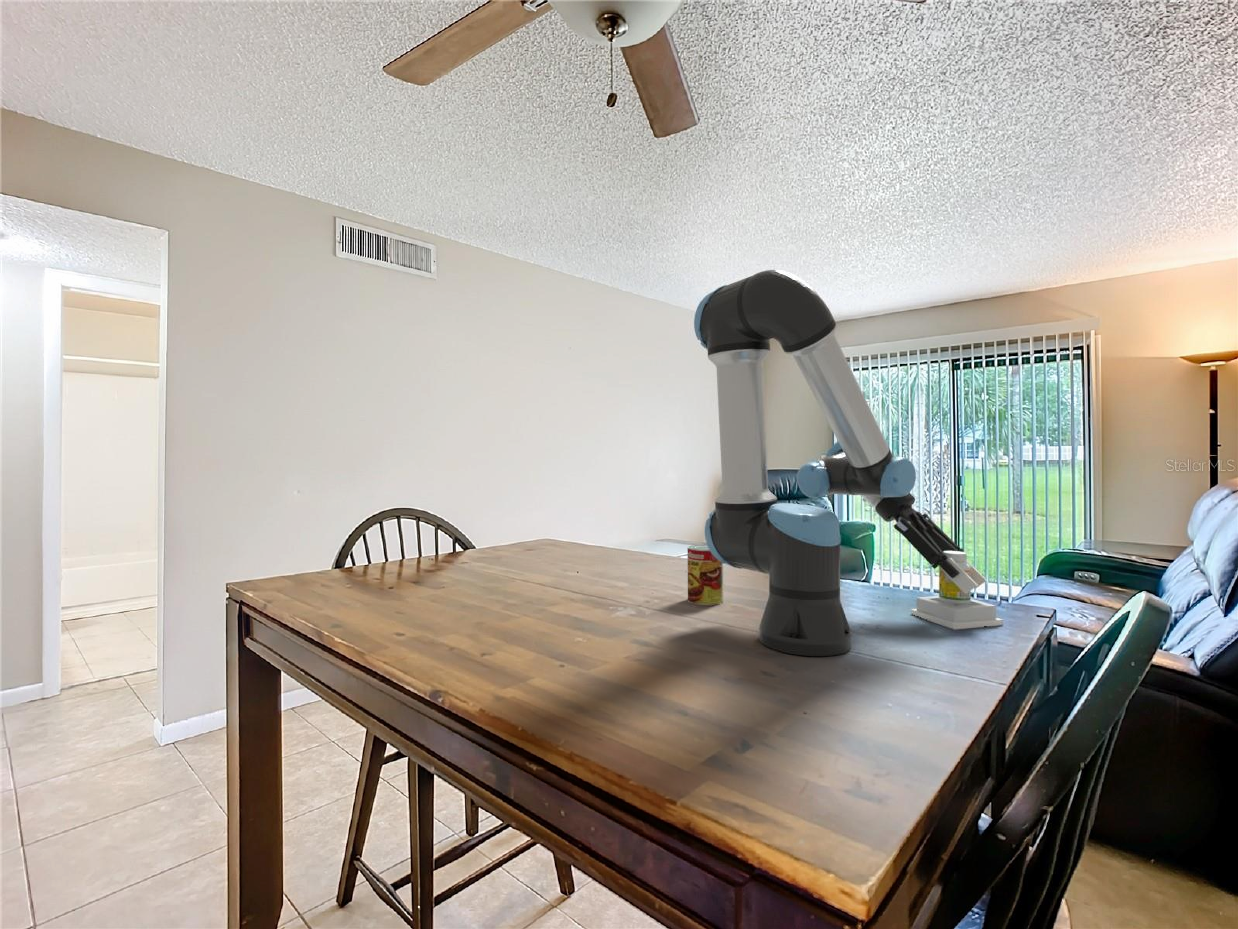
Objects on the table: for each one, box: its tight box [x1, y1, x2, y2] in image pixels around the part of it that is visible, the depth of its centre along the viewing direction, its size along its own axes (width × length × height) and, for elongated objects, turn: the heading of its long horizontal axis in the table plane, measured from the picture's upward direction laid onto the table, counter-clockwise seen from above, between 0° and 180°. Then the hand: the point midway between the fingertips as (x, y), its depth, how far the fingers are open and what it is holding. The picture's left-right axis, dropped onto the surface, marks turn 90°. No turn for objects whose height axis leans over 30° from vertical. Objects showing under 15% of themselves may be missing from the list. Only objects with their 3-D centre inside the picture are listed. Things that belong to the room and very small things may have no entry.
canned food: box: [687, 544, 724, 606], centre depth 130 cm, size 8×8×12 cm
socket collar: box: [910, 595, 1004, 630], centre depth 113 cm, size 11×11×4 cm
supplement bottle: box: [938, 551, 972, 604], centre depth 113 cm, size 5×5×10 cm
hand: (976, 587), depth 111 cm, fingers closed on supplement bottle, 5 cm apart
